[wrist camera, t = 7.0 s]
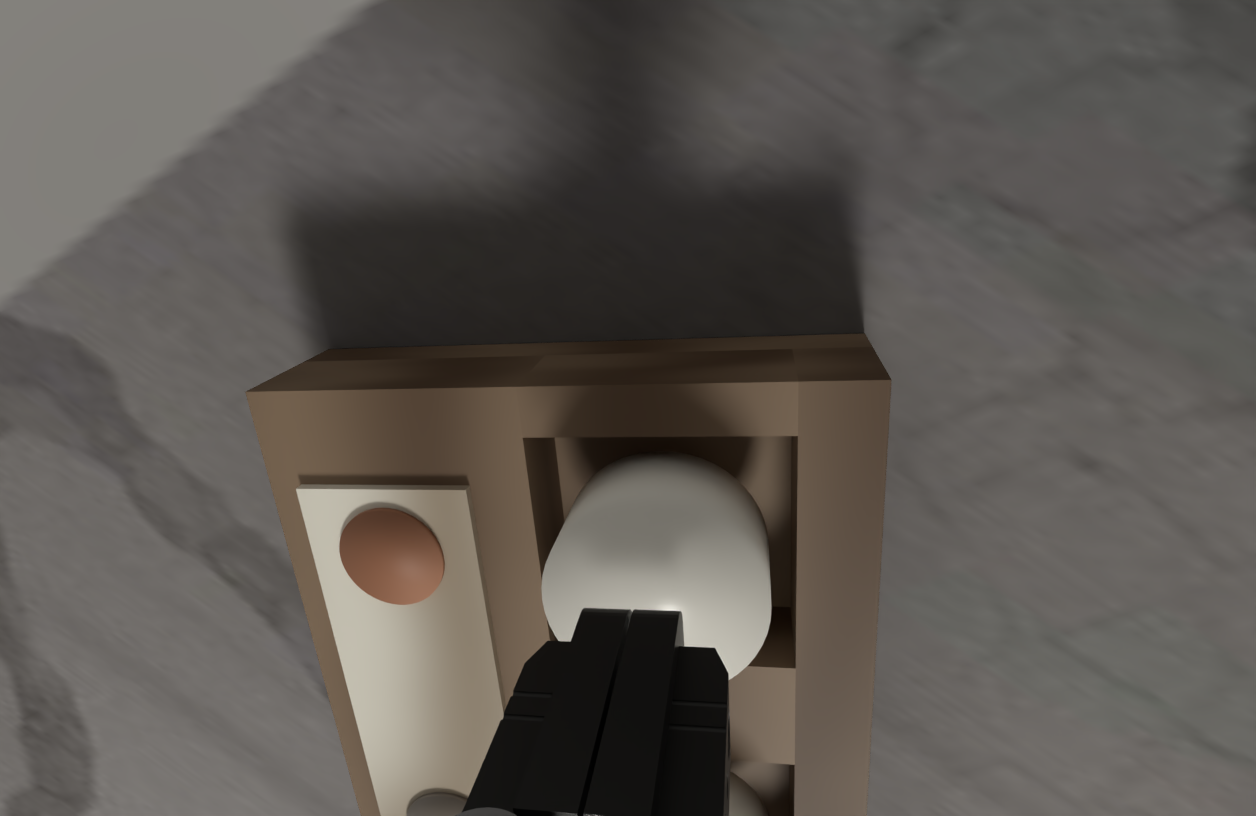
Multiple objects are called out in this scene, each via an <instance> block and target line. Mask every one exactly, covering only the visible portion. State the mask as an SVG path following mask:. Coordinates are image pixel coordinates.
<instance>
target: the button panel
mask: <svg viewBox="0 0 1256 816" xmlns="http://www.w3.org/2000/svg"><path fill="white" fill-rule="evenodd" d="M246 396H247V400H248V403H249V407H250V411H251V414H252V418H253V422H254V425H255V429H256V433H257V436H258V440H259V444H260V447H261V451H262V455H263V458H264V462H265V466H266V469H267V473H268V477H269V480H270V484H271V488H272V491H273V495H274V499H275V502H276V506H277V510H278V513H279V517H280V521H281V524H282V528H283V532H284V535H285V539H286V543H287V546H288V550H289V554H290V557H291V561H292V565H293V568H294V572H295V575H296V579H297V583H298V586H299V590H300V594H301V597H302V601H303V605H304V608H305V612H306V616H307V619H308V623H309V627H310V630H311V634H312V638H313V641H314V645H315V649H316V652H317V656H318V660H319V663H320V667H321V671H322V674H323V678H324V682H325V685H326V689H327V693H328V696H329V700H330V704H331V707H332V711H333V715H334V718H335V722H336V726H337V729H338V733H339V737H340V740H341V744H342V748H343V751H344V755H345V759H346V762H347V766H348V770H349V773H350V777H351V781H352V784H353V788H354V792H355V795H356V799H357V803H358V806H359V810H360V814H361V816H455V815H457V814H459V813H461V812H462V810H463V808H464V806H465V804H466V802H467V799H468V797H469V794H470V792H471V790H472V787H473V785H474V783H475V780H476V778H477V775H478V773H479V771H480V768H481V766H482V763H483V761H484V759H485V756H486V754H487V752H488V749H489V747H490V744H491V742H492V740H493V737H494V735H495V733H496V730H497V728H498V725H499V723H500V721H501V720H503V716H504V711H505V709H506V706H507V704H508V702H509V699H510V697H511V696H513V690H514V687H515V685H516V683H517V680H518V678H519V675H520V673H521V671H522V668H523V666H524V664H525V662H526V661H527V660H528V659H530V658H531V657H532V656H533V655H534V654H535V653H536V652H537V651H538V650H539V649H540V648H541V647H542V646H543V645H544V644H545V643H546V642H547V641H558V639H557V638H556V636H555V635H554V633H553V631H552V629H551V627H550V625H549V623H548V620H547V617H546V614H545V611H544V606H543V602H542V589H541V587H542V576H543V572H544V568H545V564H546V561H547V559H548V556H549V554H550V552H551V550H552V548H553V545H554V543H555V541H556V539H557V537H558V535H559V533H560V531H561V529H562V527H563V525H564V523H565V520H566V518H567V516H568V514H569V512H570V510H571V508H572V506H573V504H574V502H575V500H576V497H577V496H578V494H579V493H580V491H581V489H582V488H583V487H584V485H585V484H586V483H587V482H588V481H589V480H590V478H592V477H593V476H594V475H595V474H596V473H597V472H598V471H600V470H601V469H603V468H604V467H606V466H607V465H609V464H610V463H612V462H615V461H617V460H619V459H621V458H624V457H627V456H630V455H633V454H638V453H643V452H652V451H670V452H678V453H684V454H689V455H692V456H696V457H699V458H702V459H704V460H706V461H709V462H711V463H713V464H715V465H717V466H719V467H720V468H722V469H724V470H725V471H727V472H728V473H729V474H731V475H732V476H733V477H735V478H736V479H737V480H738V481H739V482H740V483H741V484H742V485H743V486H744V487H745V488H746V489H747V490H748V492H749V493H750V494H751V496H752V497H753V498H754V500H755V501H756V503H757V505H758V507H759V508H760V510H761V513H762V515H763V518H764V520H765V524H766V528H767V532H768V542H769V562H770V584H771V607H772V609H771V621H770V625H769V630H768V634H767V636H766V638H765V641H764V643H763V645H762V647H761V649H760V650H759V652H758V653H757V655H756V656H755V658H754V659H753V660H752V661H751V662H750V664H749V665H748V666H747V667H746V668H744V669H743V670H742V671H741V672H740V673H739V674H737V675H736V676H734V677H733V678H731V679H730V680H729V710H730V746H731V763H730V771H731V772H733V773H734V774H736V775H737V776H739V777H740V778H741V779H743V780H744V781H745V782H746V783H747V784H748V785H749V786H751V787H752V789H753V790H754V791H755V792H756V793H757V794H758V796H759V797H760V799H761V800H762V802H763V803H764V806H765V808H766V810H767V813H768V816H867V798H868V781H869V763H870V746H871V728H872V711H873V693H874V676H875V658H876V641H877V623H878V606H879V588H880V571H881V553H882V536H883V518H884V501H885V483H886V466H887V448H888V431H889V413H890V396H891V378H890V377H889V375H888V373H887V371H886V370H885V368H884V366H883V364H882V363H881V361H880V359H879V357H878V356H877V354H876V352H875V350H874V349H873V347H872V345H871V343H870V342H869V340H868V338H867V336H866V335H865V333H862V334H828V335H794V336H760V337H726V338H692V339H658V340H624V341H590V342H556V343H522V344H488V345H454V346H420V347H386V348H352V349H328V350H326V351H324V352H323V353H321V354H319V355H317V356H315V357H313V358H311V359H309V360H307V361H305V362H303V363H301V364H299V365H297V366H295V367H293V368H291V369H289V370H287V371H285V372H283V373H281V374H279V375H277V376H276V377H274V378H272V379H270V380H268V381H266V382H264V383H262V384H260V385H258V386H256V387H254V388H252V389H250V390H248V391H246Z"/></svg>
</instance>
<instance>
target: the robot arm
mask: <svg viewBox="0 0 1256 816" xmlns="http://www.w3.org/2000/svg"><path fill="white" fill-rule="evenodd" d="M730 763H731V746H730V710H729V674H728V671H727V670H726V668H725V666H724V664H723V662H722V660H721V658H720V656H719V654H718V653H717V651H716V649H715V648H709V647H687V646H684V632H683V617H682V612H681V611H666V610H638V609H634V610H633V612H632V611H631V609H604V608H583V609H582V611H581V613H580V616H579V619H578V622H577V625H576V627H575V630H574V633H573V636H572V639H571V642H568V641H547V642H546V643H545V644H544V645H543V646H542V647H541V648H540V649H539V650H538V651H537V652H536V653H535V654H534V655H533V656H532V657H531V658H530V659H528V660H527V661H526V662H525V664H524V666H523V668H522V671H521V673H520V675H519V678H518V680H517V683H516V685H515V687H514V690H513V696H511V697H510V699H509V702H508V704H507V706H506V709H505V711H504V716H503V720H501V721H500V723H499V725H498V728H497V730H496V733H495V735H494V737H493V740H492V742H491V744H490V747H489V749H488V752H487V754H486V756H485V759H484V761H483V763H482V766H481V768H480V771H479V773H478V775H477V778H476V780H475V783H474V785H473V787H472V790H471V792H470V794H469V797H468V799H467V802H466V804H465V806H464V808H463V810H462V812H461V813H459V814H457V815H455V816H729V800H730Z"/></svg>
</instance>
